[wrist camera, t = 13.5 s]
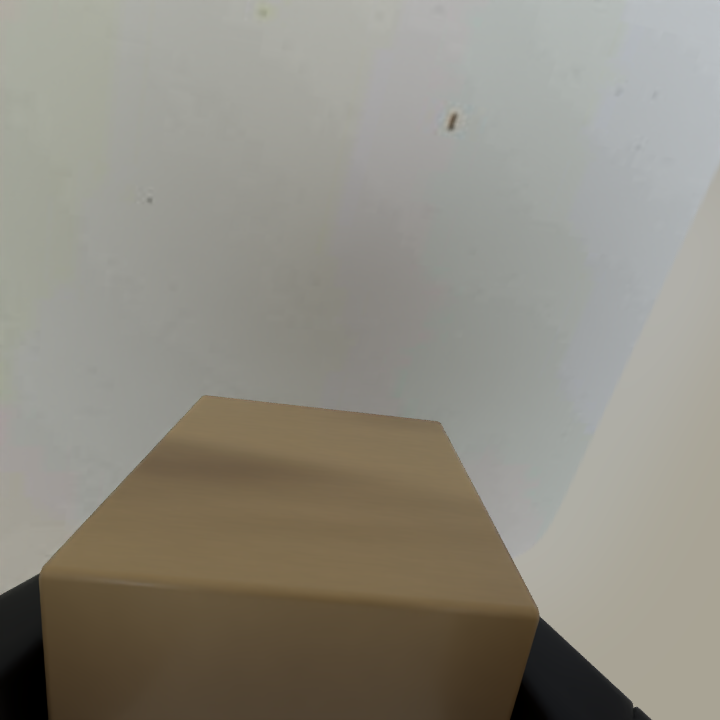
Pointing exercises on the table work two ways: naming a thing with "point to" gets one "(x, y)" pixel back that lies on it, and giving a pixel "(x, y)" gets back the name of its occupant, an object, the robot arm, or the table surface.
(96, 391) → the table surface
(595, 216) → the table surface
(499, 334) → the table surface
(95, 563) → the block
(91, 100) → the table surface
